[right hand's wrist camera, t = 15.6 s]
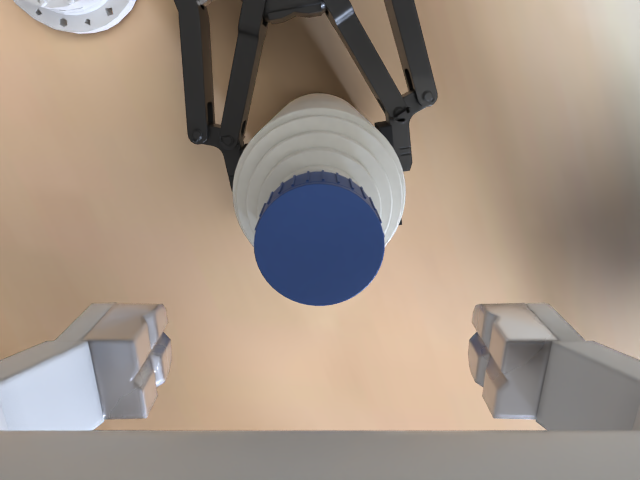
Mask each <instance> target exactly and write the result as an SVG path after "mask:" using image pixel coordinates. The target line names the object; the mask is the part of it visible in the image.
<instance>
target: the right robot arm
mask: <svg viewBox="0 0 640 480" xmlns="http://www.w3.org/2000/svg"><path fill="white" fill-rule="evenodd" d="M167 324H168V318H167V312H166V308H165V307H164V305H163V304H131V303H118V304H117V303H95V304H91V305H90V306H89V307H88V308H87V309H86V310H85V311H84V312H83V313H82V314H81V315H80V316H79V317H78V318H77V319H76V320H75V321H74V322H73V323H72V324H71V325H70V326H69V327H68V328H67V329H66V330H65V331H64V332H63V333H62V334H61V335H60V336H59V337H58V338H57V339H56V340H55V341H45V342H43V343H41V344H38V345H36V346H33V347H31V348H29V349H26V350H24V351H21V352H19V353H17V354H14V355H12V356H9V357H7V358H4V359H2V360H0V480H640V360H638V359H635V358H633V357H631V356H628V355H626V354H623V353H621V352H619V351H616V350H614V349H611V348H609V347H607V346H604V345H602V344H599V343H597V342H595V341H585V340H584V339H583V338H582V337H581V336H580V335H579V334H578V333H577V332H576V331H575V330H574V329H573V328H572V327H571V326H570V325H569V324H568V323H567V322H566V321H565V320H564V319H563V318H562V317H561V316H560V315H559V314H558V313H557V312H556V311H555V310H554V309H553V308H552V307H551V306H550V305H549V304H547V303H506V304H479V305H476V306H475V309H474V311H473V317H472V324H473V325H474V327H475V329H476V330H477V332H476V333H475V334H474V335H473V336H472V338H471V339H470V340H469V349H468V358H469V367H470V371H471V374H472V376H473V378H474V381H475V382H476V383H477V384H479V385H481V386H482V387H483V394H482V397H483V399H484V401H485V402H486V404H487V406H488V408H489V410H490V412H491V414H492V416H493V418H503V419H536V422H537V423H539V424H540V425H541V426H543V427H544V428H545V429H546V430H94V429H95V428H96V427H98V426H99V425H100V424H101V423H103V422H104V419H135V418H147V416H148V414H149V412H150V410H151V408H152V406H153V404H154V402H155V401H156V399H157V397H158V394H157V387H158V386H159V385H161V384H163V383H164V382H165V381H166V378H167V376H168V374H169V371H170V366H171V361H172V347H171V340H170V339H169V338H168V336H167V335H166V334H165V333H164V332H163V330H164V329H165V327H166V325H167Z"/></svg>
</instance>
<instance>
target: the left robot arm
mask: <svg viewBox="0 0 640 480" xmlns="http://www.w3.org/2000/svg"><path fill="white" fill-rule="evenodd" d="M241 1H242V2H243V3H242V8H241V14H240V19H239V25H238V38H237V44H236V49H235V54H234V59H233V65H232V70H231V75H230V81H229V86H228V91H227V97H226V102H225V107H224V112H223V118H222V123H221V125H219V124H215V114H214V95H213V77H212V59H211V41H210V24H209V16H208V12H207V8H206V6H208V5H209V4H210V3H211V2H212V0H174V2H175V4H176V7H177V9H178V12H179V25H180V38H181V52H182V65H183V78H184V91H185V104H186V118H187V131H188V137H189V139H190V141H191V142H193V143H194V144H206V145H211V146H215V147H217V148H219V149H220V150H221V151H222V153H223V155H224V159H225V164H226V168H227V172H228V176H229V181H230V185H231V189H232V192H233V180H234V175H235V170H236V167H237V164H238V161H239V159H240V157H241V155H242V153H243V151H244V149H245V148H246V146H247V145H248V144H245V145H244V141H243V140H244V138H245V136H244V134H245V129H246V124H247V119H248V114H249V109H250V105H251V100H252V95H253V90H254V85H255V80H256V76H257V71H258V66H259V61H260V56H261V51H262V47H263V42H264V40H265V36H266V32H267V27H268V23H269V22H270V23H271V24H276V23H281V22H285V21H287V20H289V19H291V18H293V17H295V16H300V17H315V16H321V14H322V13H324V12H325V14H326V15H327V17H328V19H329V20H330V22H331V24H332V25H333V27H334V28H335V30H336V31H337V33H338V35H339V36H340V38H341V40H342V41H343V43H344V45H345V46H346V48H347V50H348V52H349V53H350V55H351V57H352V58H353V60H354V62H355V64H356V65H357V67H358V69H359V70H360V72H361V74H362V76H363V77H364V79H365V81H366V82H367V84H368V86H369V87H370V89H371V91H372V93H373V94H374V96H375V98H376V99H377V101H378V103H379V105H380V106H381V108H382V110H383V111H384V113H385V115H386V121H383V122H376V123H375V128H376V129H378V130H379V131H380V133H381V134H382V135H383V136H384V137H385V138H386V139H387V140H388V142H389V143H390V144H391V146H392V147H393V149H394V151H395V153H396V154H397V156H398V158H399V161H400V164H401V166H402V169H403V171H410V168H411V165H412V154H411V143H410V132H409V121H410V119H411V117H412V116H413V115H414V114H415V113H416V112H418V111H420V110H422V109H423V108H425V107H428V106H431V105H433V104H434V103H435V102H436V100H437V90H436V86H435V82H434V78H433V74H432V70H431V66H430V62H429V58H428V54H427V50H426V46H425V42H424V38H423V34H422V30H421V26H420V23H419V19H418V15H417V11H416V7H415V3H414V0H384V2H385V6H386V10H387V13H388V17H389V21H390V24H391V28H392V32H393V35H394V39H395V43H396V46H397V50H398V54H399V57H400V61H401V65H402V68H403V72H404V76H405V80H406V83H407V87H408V92H406V93H405V94H403V95H401V94H400V92H399V90H398V89H397V87H396V85H395V83H394V81H393V80H392V78H391V76H390V74H389V73H388V71H387V69H386V67H385V66H384V64H383V62H382V60H381V58H380V57H379V55H378V53H377V51H376V50H375V48H374V46H373V44H372V43H371V41H370V39H369V37H368V35H367V34H366V32H365V30H364V28H363V27H362V25H361V23H360V21H359V20H358V18H357V16H356V14H355V12H354V10H353V7H352V5H351V3H350V1H349V0H241ZM399 225H402V220H400V223H399Z"/></svg>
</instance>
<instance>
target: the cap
mask: <svg viewBox="0 0 640 480" xmlns="http://www.w3.org/2000/svg"><path fill="white" fill-rule="evenodd" d="M381 223H382V221H381V218H380V216H379V214H378V211H377V209H376V208H375V206H374V203H373V201H372V199H371V197H368V196H367V194H366V193H365V192H364V190H363V187H362V186H361V187H359V186H358V185H357V184H356V183H354V182H353V181H352V179H351V178H349V179H348V178H346V177H344V176H341V175H339V174H338V173H337V172H336V174H335V173H331V172H324V170H322V171H316V172H310V171H307V173H304V174H300V175H297V176H296V175H293V178H291V179H289V180H287V181H286V182H284V183H283V182H282V183H281V184H280V186H279V187H278V188H277V189H276V190H275V191H274V192H273V191H272V192H271V194H270V197H269V199H268V201H267V203H264V205H263V208H262V210H261V212H260V215H259V220H258V222H257V224H256V227H255V236H254V253H255V258H256V262H257V264H258V267H259V269H260V271H261V273H262V275H263V276H264V278H265V279H266V281H267V282H268V283H269V284H270V285H271V286H272V287H273V288H274V289H275V290H276V291H277V292H279V293H280V294H282V295H283V296H285V297H287V298H289V299H291V300H293V301H295V302H298V303H302V304H306V305H314V306H325V305H333V304H337V303H340V302H343V301H346V300H348V299H350V298H352V297H354V296H355V295H357V294H358V293H360V292H361V291H362V290H364V289H365V288H366V287H367V286H368V285H369V284H370V282H371V281H372V280H373V279H374V277H375V276H376V274H377V272H378V270H379V268H380V266H381V263H382V260H383V256H384V248H385V241H384V237H385V235H384V232H383V229H382V226H381Z"/></svg>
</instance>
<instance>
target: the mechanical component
mask: <svg viewBox="0 0 640 480" xmlns="http://www.w3.org/2000/svg"><path fill="white" fill-rule="evenodd" d="M14 2H15V3H16V4H17V5H18V6H19V7H20V8H22V9H23V10H24V11H25V12H26V13H28V14H29V15H30V16H31V17H32V18H34V19H35V20H37V21H39V22H41V23H43V24H45V25H47V26H49V27H51V28H53V29H55V30H61V31H67V32H72V33H79V34H82V33H96V32H100V31H104V30H107V29H109V28H111V27H112V26H114V25H116V24H118V23H119V22H120V21H121V20H122V19H123V18H124V17H125V16H126V15H127V14H128V13H129V12H130V11H131V10H132V8H133V6H134V4H135V2H136V0H14ZM112 11H113V14H112Z"/></svg>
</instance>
